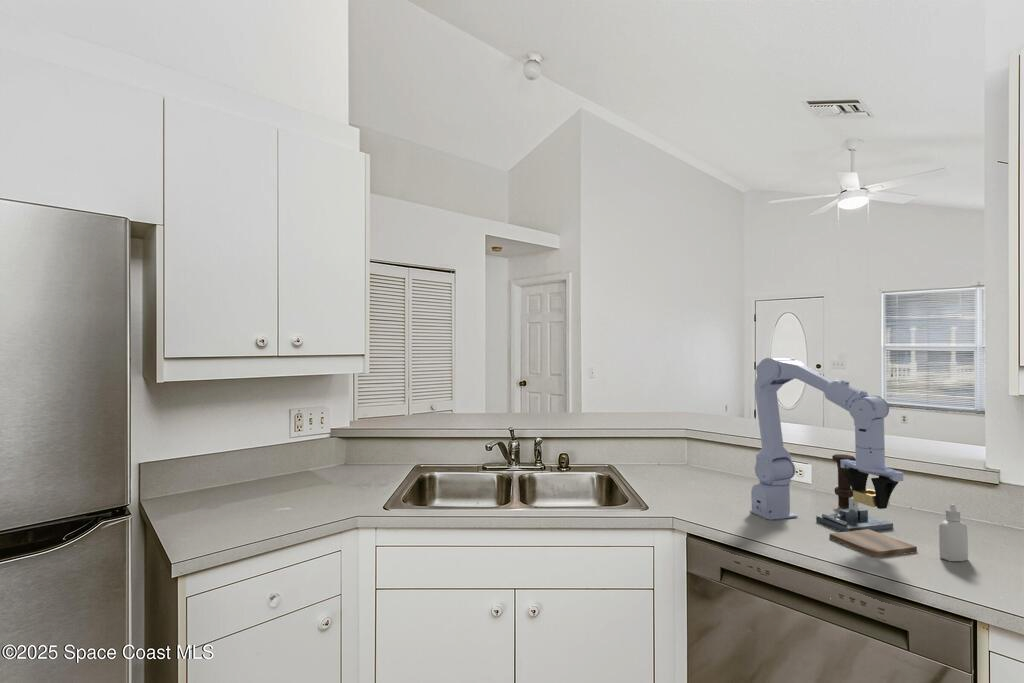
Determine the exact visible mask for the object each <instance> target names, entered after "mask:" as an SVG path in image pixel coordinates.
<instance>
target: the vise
mask: <svg viewBox="0 0 1024 683" xmlns="http://www.w3.org/2000/svg"><path fill="white" fill-rule="evenodd" d="M815 519H816V520H815V521H816V523H819V524H822V525H824V526H827V527H829V528H831V527H832V528H831V529H834V528H835V529H834V530H836V531H839V530H840V531H839V532H848V531H857V530H865V529H870V530H872V531H875V532H880V531H882V530H883V531H889V530H894V522H890V521H887V520H885V519H882V518H878V517H875V516H872V515H869V512H868V509H866V508H863V507H859V503H858V502H855V501H853V497H851V498H849V508H844V509H839V513H832V514H826V513H822V514H821V515H816V517H815Z"/></svg>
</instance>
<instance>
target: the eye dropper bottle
mask: <svg viewBox="0 0 1024 683" xmlns="http://www.w3.org/2000/svg"><path fill="white" fill-rule="evenodd" d="M938 529H939V530H938V532H939V533H938V534H939V537H938V539H939V544H938V545H939V558H940V559H943V560H944V561H947V560H948V562H951V561H961V562H965V561H967V560H968V559H969V541H968V539H969V538H968V536H969V535H968V526H967V524H966V523H965V522H962V521H961V511H960V510H958V509H957V508H956V504H954V503H950V506H949V508H946V509H945V519H944V520H943V521H941V522H940V523H939V527H938Z"/></svg>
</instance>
